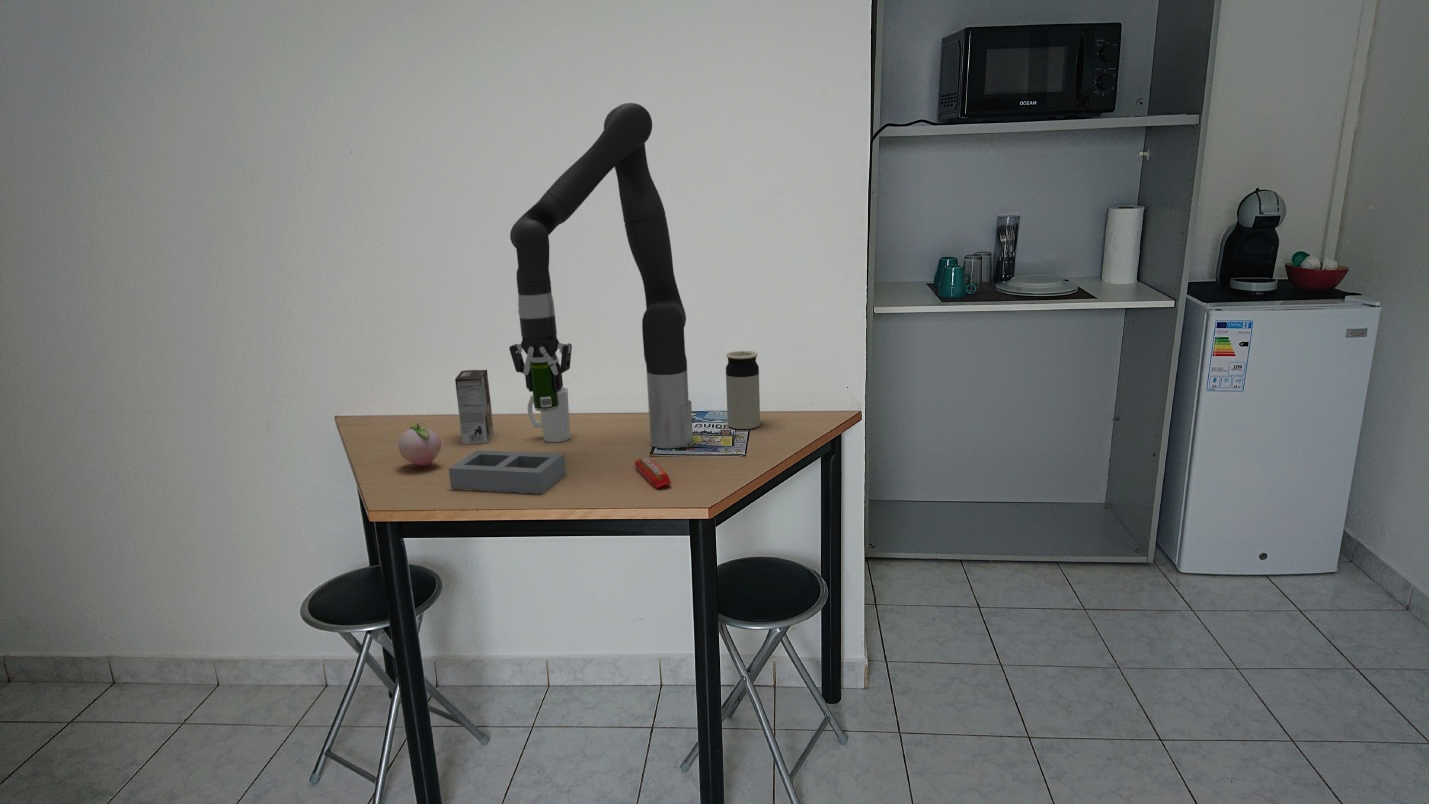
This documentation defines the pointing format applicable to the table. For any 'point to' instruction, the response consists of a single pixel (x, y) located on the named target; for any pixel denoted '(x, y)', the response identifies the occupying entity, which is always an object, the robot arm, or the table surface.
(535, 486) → the drink caddy
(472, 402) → the coffee box
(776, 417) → the table surface
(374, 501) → the table surface
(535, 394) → the beer can
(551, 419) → the mug
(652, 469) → the candy bar
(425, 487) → the table surface
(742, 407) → the travel mug
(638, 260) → the robot arm
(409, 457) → the decorative fruit
